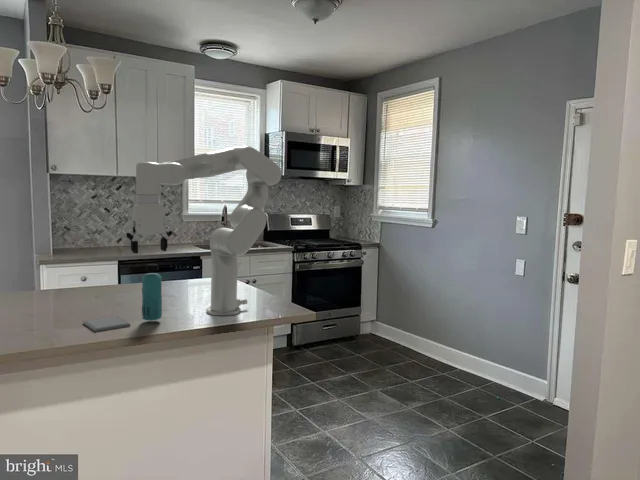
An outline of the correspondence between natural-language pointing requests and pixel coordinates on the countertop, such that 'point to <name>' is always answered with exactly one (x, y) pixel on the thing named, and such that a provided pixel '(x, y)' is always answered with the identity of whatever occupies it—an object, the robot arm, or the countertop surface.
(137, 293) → the countertop surface
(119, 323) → the plate
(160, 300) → the beverage bottle
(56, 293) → the countertop surface
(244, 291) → the countertop surface
